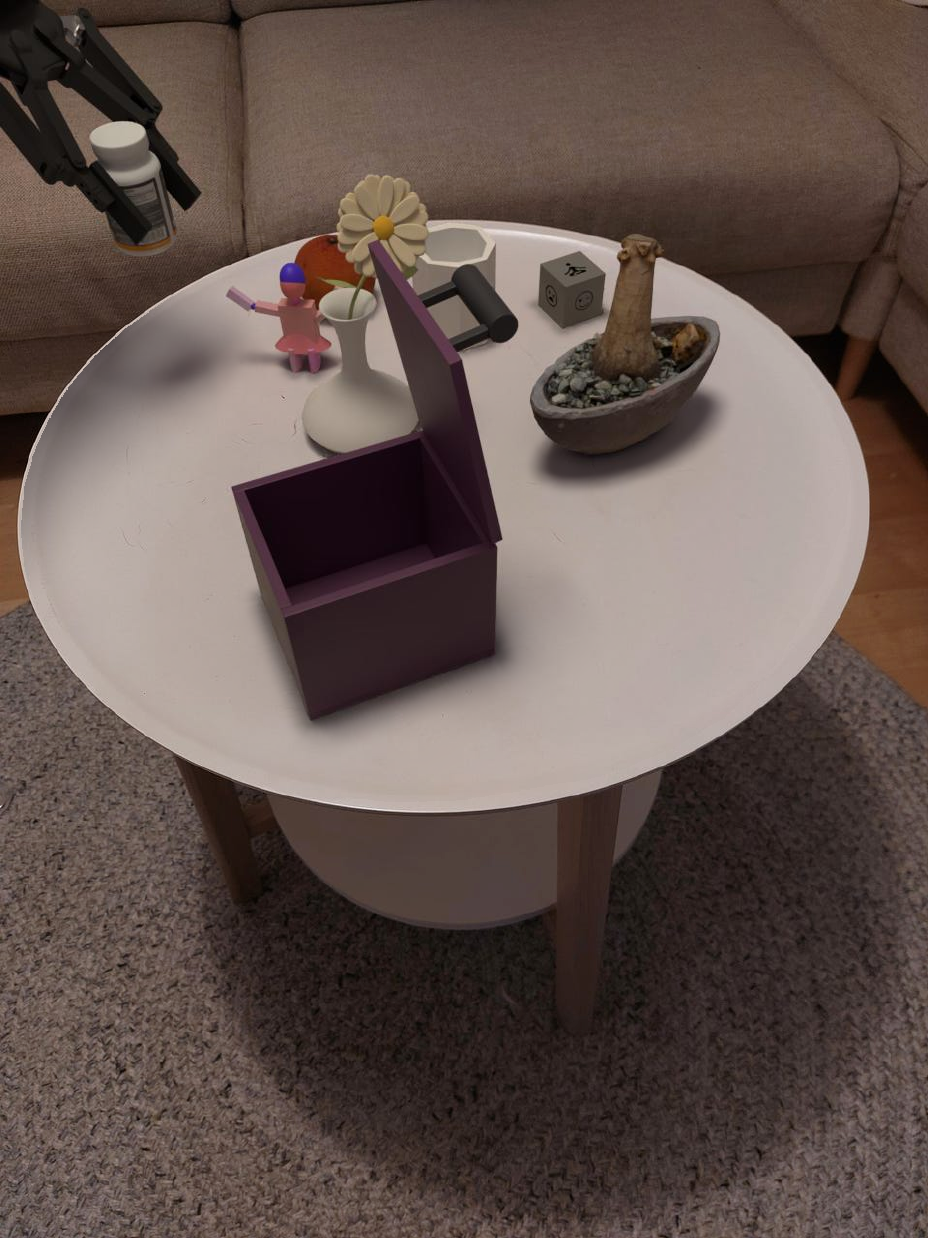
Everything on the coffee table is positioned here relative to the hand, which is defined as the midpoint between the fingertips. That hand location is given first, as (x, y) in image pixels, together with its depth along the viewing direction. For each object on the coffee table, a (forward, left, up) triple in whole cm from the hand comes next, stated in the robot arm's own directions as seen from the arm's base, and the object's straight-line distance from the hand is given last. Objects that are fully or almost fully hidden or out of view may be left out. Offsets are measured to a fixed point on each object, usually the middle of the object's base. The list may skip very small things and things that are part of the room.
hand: (168, 218), depth 86 cm
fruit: (-2, +18, -18) cm, 26 cm away
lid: (+38, -3, +3) cm, 38 cm away
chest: (+35, -9, -18) cm, 41 cm away
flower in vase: (+16, +7, -18) cm, 26 cm away
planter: (+34, +23, -18) cm, 45 cm away
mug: (+9, +25, -18) cm, 32 cm away
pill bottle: (-4, -1, -4) cm, 5 cm away
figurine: (+3, +8, -18) cm, 20 cm away
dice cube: (+17, +35, -18) cm, 43 cm away
